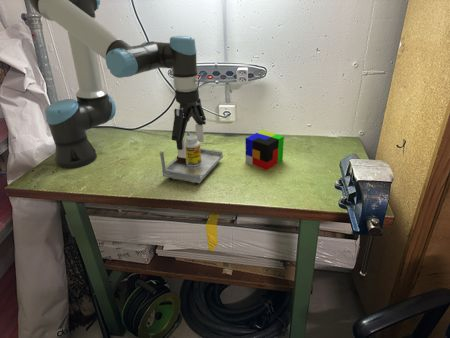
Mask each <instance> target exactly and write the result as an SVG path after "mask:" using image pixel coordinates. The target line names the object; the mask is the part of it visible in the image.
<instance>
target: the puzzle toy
mask: <svg viewBox="0 0 450 338" xmlns="http://www.w3.org/2000/svg"><path fill="white" fill-rule="evenodd" d="M284 141H285V136H284V135H280V134H276V133H273V132H270V131H266V130H260V131H258V132H255V133H254V134H251V135H249V136H248V137H245V163H246V164H249V165H252V166H255V167H258V168H260V169H263V170H265V171H269V170H270V169H271V168H273V167H274V166H276V165H278V164H279V163H281V162H282V161H283V157H284V156H283V155H284V144H285V143H284Z"/></svg>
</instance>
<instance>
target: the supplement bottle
mask: <svg viewBox="0 0 450 338" xmlns="http://www.w3.org/2000/svg"><path fill="white" fill-rule="evenodd" d="M185 148H186V164H187V165H188V166H198V165H200V164H201V150H200V148H201V142H199V141H197V136H196V135H191V134H190V136H188V135H187V136H186V137H185Z"/></svg>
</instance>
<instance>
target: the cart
mask: <svg viewBox="0 0 450 338" xmlns="http://www.w3.org/2000/svg"><path fill="white" fill-rule="evenodd" d="M186 134H187V136H191V130H187V132H186ZM200 150H201V164H200V165H198V166H188V165H187V164H186V163H181V162H179V160H178V158H177V157H176V158H174V159H173V160H172V161H171V162H170V163H168V164H167V165H166V162H165V156H164V151H160V152H159V155H160V157H159V158H160V162H161V173H162V177H164V178H168V179H169V180H170V181H173V180H180V181H186V182H191V183H193V184H194V185H196V186H198V185H199V184H200V183H201V182H203V180H204V179H205V178H206V176H208V174H209V173H210V172H211V171H212V170H213V169H214V168H215V166H217V164H218V163H219V162H220V161H221V160H222V159H223V158H224V155H223V150H216V149H209V148H202V147H200Z"/></svg>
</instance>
